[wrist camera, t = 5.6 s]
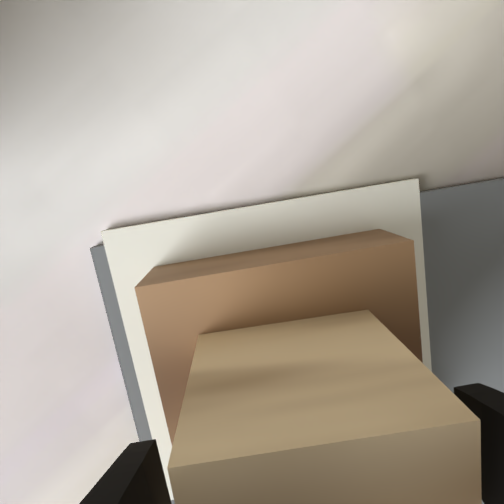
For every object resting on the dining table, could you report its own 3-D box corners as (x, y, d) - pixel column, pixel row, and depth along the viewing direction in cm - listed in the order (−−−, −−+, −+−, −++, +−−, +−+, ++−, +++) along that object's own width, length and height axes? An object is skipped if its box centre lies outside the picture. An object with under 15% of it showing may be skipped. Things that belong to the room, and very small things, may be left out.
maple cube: (379, 456, 12) (483, 655, 7) (224, 480, 12) (216, 700, 7) (368, 309, 11) (480, 419, 6) (198, 334, 11) (167, 467, 6)
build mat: (538, 570, 17) (546, 579, 16) (192, 632, 16) (191, 644, 16) (536, 158, 13) (546, 157, 13) (90, 232, 13) (85, 234, 12)
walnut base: (397, 427, 14) (431, 478, 12) (197, 462, 14) (189, 521, 12) (379, 228, 13) (413, 240, 10) (154, 266, 13) (134, 287, 10)
